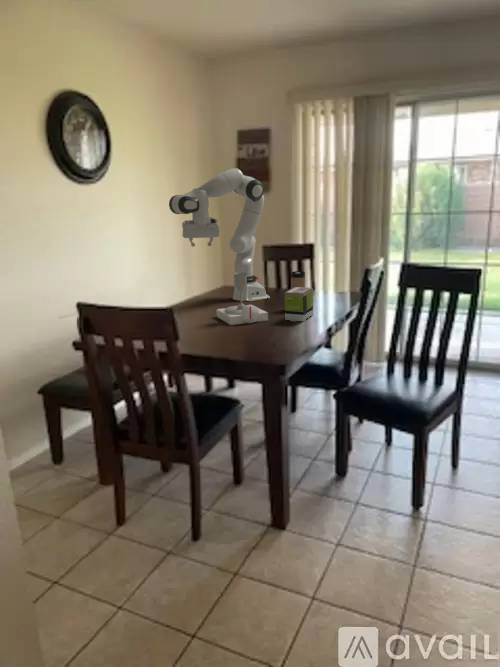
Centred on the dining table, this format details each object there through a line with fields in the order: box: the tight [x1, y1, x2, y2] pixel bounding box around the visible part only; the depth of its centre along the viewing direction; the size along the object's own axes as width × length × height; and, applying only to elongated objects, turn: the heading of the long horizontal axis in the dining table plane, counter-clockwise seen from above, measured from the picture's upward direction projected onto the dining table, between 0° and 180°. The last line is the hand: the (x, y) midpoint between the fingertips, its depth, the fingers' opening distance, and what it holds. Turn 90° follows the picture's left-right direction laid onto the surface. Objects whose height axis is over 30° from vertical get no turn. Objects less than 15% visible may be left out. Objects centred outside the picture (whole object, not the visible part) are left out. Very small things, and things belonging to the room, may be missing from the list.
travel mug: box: [290, 270, 306, 289], centre depth 271 cm, size 8×8×20 cm
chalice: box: [233, 272, 247, 310], centre depth 250 cm, size 7×7×18 cm
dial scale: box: [216, 304, 269, 326], centre depth 252 cm, size 20×22×9 cm
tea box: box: [284, 286, 314, 322], centre depth 250 cm, size 15×10×15 cm
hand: (201, 246), depth 272 cm, fingers open, 8 cm apart
